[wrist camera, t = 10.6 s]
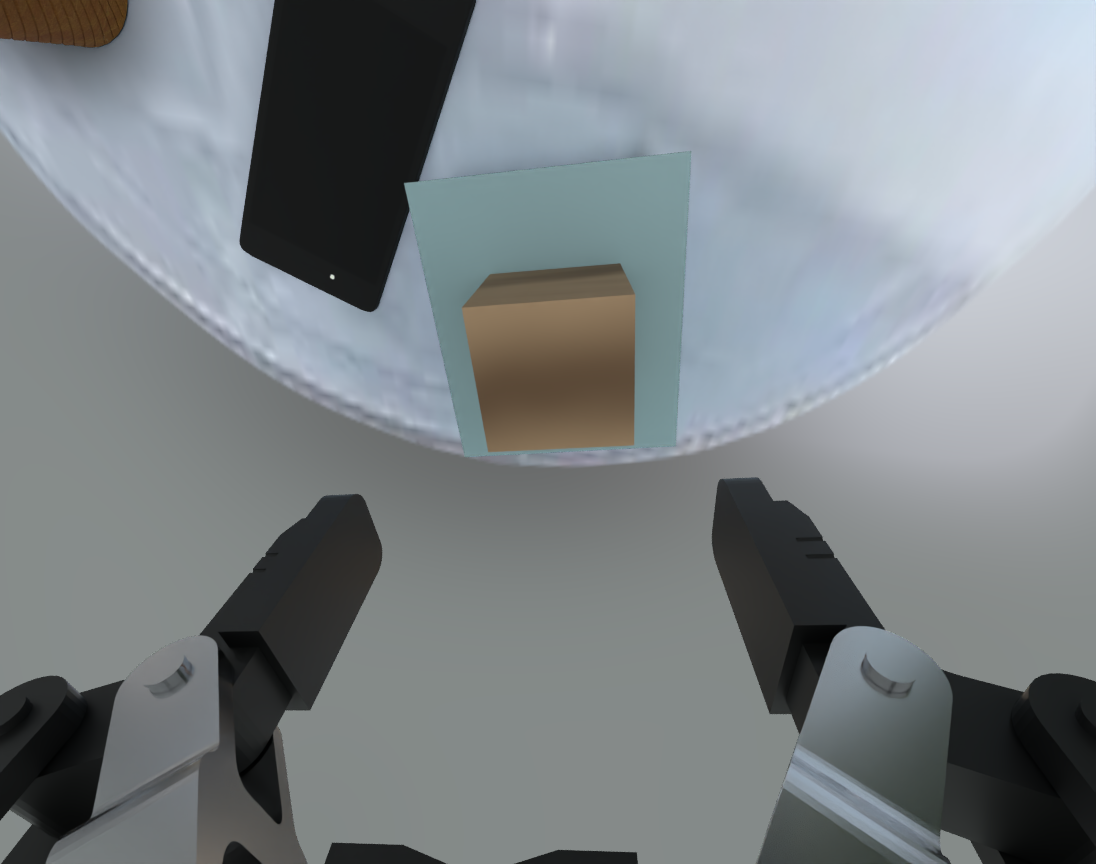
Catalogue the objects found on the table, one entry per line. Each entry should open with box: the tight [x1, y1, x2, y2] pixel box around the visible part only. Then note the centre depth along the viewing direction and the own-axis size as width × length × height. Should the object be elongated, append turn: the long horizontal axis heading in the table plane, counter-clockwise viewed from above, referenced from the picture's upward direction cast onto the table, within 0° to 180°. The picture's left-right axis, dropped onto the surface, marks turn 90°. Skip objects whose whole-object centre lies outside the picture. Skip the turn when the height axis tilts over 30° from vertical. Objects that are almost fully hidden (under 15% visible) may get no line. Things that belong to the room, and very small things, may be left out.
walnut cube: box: [462, 263, 635, 452], centre depth 20 cm, size 6×6×6 cm
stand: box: [404, 151, 691, 457], centre depth 26 cm, size 14×12×8 cm
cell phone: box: [240, 0, 476, 312], centre depth 25 cm, size 9×18×1 cm, turn 152°
